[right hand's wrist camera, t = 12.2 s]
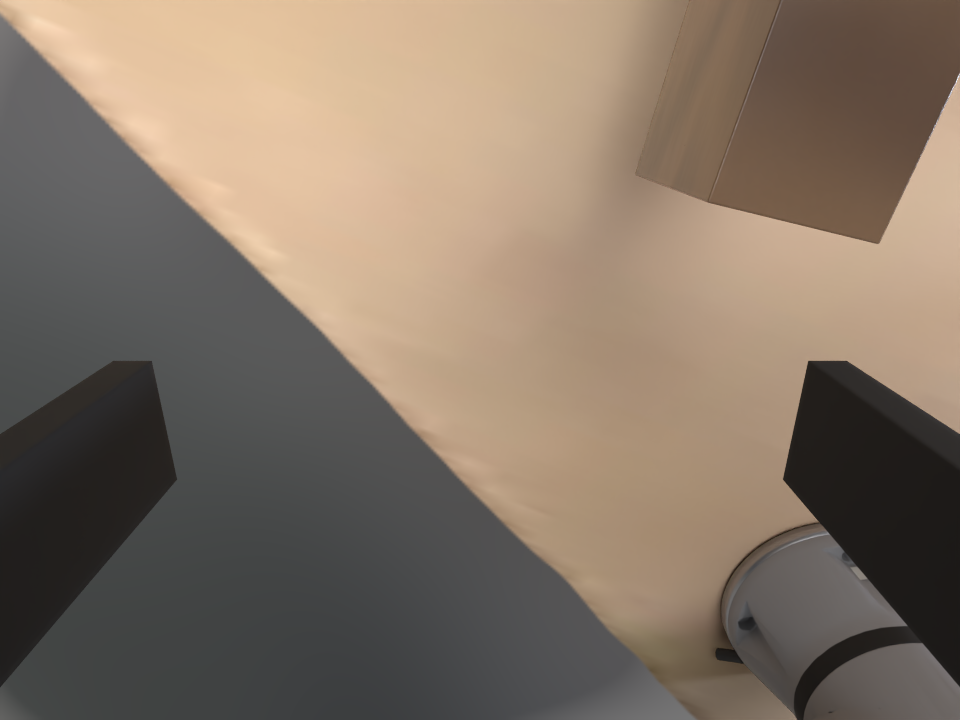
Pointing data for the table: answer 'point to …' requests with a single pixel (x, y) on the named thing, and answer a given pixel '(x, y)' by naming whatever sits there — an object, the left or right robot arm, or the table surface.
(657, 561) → the table surface
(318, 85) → the table surface
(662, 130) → the bar
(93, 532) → the right robot arm
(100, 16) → the table surface
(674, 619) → the table surface
